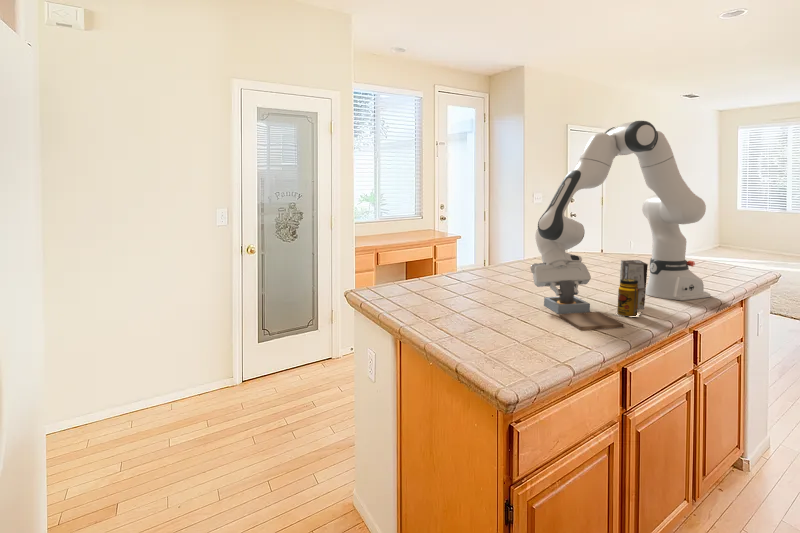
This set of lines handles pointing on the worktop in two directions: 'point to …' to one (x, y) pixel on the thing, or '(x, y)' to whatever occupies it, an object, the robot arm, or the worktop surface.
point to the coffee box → (636, 276)
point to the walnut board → (590, 320)
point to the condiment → (628, 297)
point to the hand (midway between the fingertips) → (567, 294)
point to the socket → (566, 306)
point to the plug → (567, 292)
